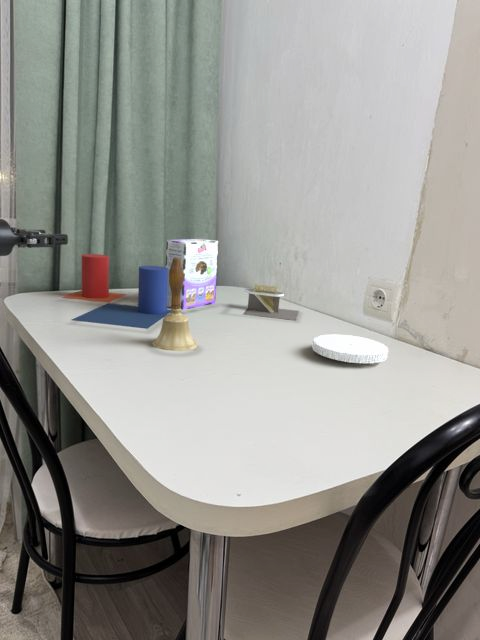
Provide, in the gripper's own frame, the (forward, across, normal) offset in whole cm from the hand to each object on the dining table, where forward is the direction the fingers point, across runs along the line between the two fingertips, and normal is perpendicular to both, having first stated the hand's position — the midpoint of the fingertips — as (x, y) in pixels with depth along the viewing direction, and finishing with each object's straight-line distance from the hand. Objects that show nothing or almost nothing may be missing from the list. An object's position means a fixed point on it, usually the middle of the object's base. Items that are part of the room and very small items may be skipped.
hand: (55, 236), depth 114 cm
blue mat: (+4, +20, -15) cm, 25 cm away
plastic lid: (+18, +67, -15) cm, 71 cm away
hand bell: (-4, +42, -15) cm, 45 cm away
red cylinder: (+11, 0, -15) cm, 18 cm away
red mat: (+11, 0, -15) cm, 19 cm away
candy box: (+24, +19, -15) cm, 35 cm away
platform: (+36, +33, -15) cm, 52 cm away
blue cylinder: (+11, +20, -14) cm, 27 cm away
